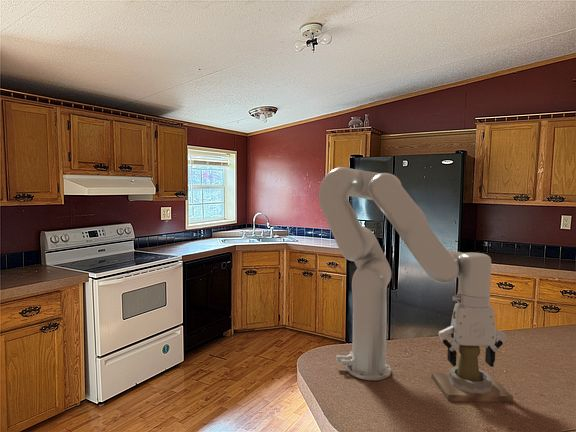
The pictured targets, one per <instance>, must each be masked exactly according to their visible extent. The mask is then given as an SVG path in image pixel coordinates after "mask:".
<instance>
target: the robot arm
mask: <svg viewBox="0 0 576 432" xmlns="http://www.w3.org/2000/svg"><path fill="white" fill-rule="evenodd" d="M350 197H352V198H358V199H359V198H360V199H363V200H364V199H365V200H370V201H373V202H374V204H375V205H376V206H377V207H378V208H379V210H380V211H381V213H383V215H384V216H385V218H387V220H388V221H389V223H390V224H391V226H393V228H394V229H395V231H396V232H397V234H398V235H399V237H400V238H401V240H402V241H403V242H404V244H405V245H406V247H407V249H408V250H409V252H410V253H411V254H412V255H413V257H414V259H415V260H416V261H417V263H418V264H419V265H420V267H421V268H422V269H423V270H424V272H425V273H426V274H427V276H428V277H429V278H431V279H432V280H433V281H434V282H436V283H438V284H442V285H443V284H450V283H452V282H454V281H455V280H456V279H457V278H458V283H457V284H458V286H457V293H456V295H452V301H453V302H456V303H455V304H454V307H453V312H452V315H451V322H450V326H447V327H446V328H444V329H442V330H441V329H440V330H439V331H438V332H437V334H438V337H439V338H440V341H441V342H442V344H444V345H445V346H446V348H447V357H446V359H447V361H448V362H449V363H450V364H451V366H452V367H455V366H457V354H458V353H457V351H456V349H457V348H459V345H461V346H479V347H485V354H484V355H485V357H484V358H485V359H484V360H485V361H484V362H485V363H486V364H487V365H488V366H489V367H492V368H494V366H495V362H496V353H497V352H498V350H499V348H501V347H502V346H503V343H504V341H505V340H506V339H507V336H508V335H507V334H506V333H505V332H503V331H501V330H500V329H497V328H496V318H495V312H494V307H493V306H491V305H490V303H491V302H490V300H491V279H492V258H491V256H489V255H488V254H485V253H483V252H482V253H480V252H472V251H471V252H470V251H469V252H461V251H456V250H450V249H446V246H444V244H443V243H442V242H441V241H440V239H439V238H438V237H437V236H436V234H435V232H434V231H433V228H431V226H430V224H429V221H428V219H427V216H426V215H425V213H424V211H423V210H422V209H421V208H420V207H419V205H418V204H417V203H416V202H415V200H413V198H412V197H411V196H410V195H409V193H408V192H407V190H406V189H405V187H403V185H402V182H401V180H400V179H399V178H398V177H397V176H396V175H394V174H392V173H389V172H373V171H366V170H361V169H354V168H350V167H346V166H344V167H343V166H338V167H336V168H334V169H331V170H330V171H329V172H328V173H327V174H326V175H324V178H323V179H322V181H321V183H320V185H319V189H318V202H319V206H320V208H321V209H320V210H321V211H322V213H323V216H324V218H325V221H326V222H327V224H328V226H329V230H330V231H331V234H332V236H333V238H334V240H335V242H336V245H337V247H338V249H339V251H340V254H341V255H342V256H343V258H344V259H346V260H348V261H350V262H354V264H355V266H356V270H355V271H354V272H353V275H352V278H351V279H352V281H351V291H352V292H351V293H352V342H351V343H352V347H351V348H352V350H350V351H349V354H348V353H347V354H346V355H342V354H337V355H336V356H335V359H336V363H340V365H341V366H346V370H347V372H348V373H349V374H350V375H351V376H353V377H355V378H356V379H361V380H365V381H381V380H386V379H387V378H389V377H390V376H391V374H392V368H391V366H390V365H389V364H388V363H386V361H387V359H386V358H387V325H388V323H387V322H388V321H387V315H388V313H387V312H388V310H387V309H388V308H387V307H388V306H387V304H388V300H387V297H388V296H387V289H388V285H389V283H390V282H391V279H392V269H391V266H390V263H389V261H388V259H387V258H386V254H385V253H384V251H383V249H382V247H381V245H380V243H379V241H378V239H377V237H376V236H375V234H374V232H373V231H372V230H371V229H369V228H368V227H366V226H362V224H361V223H360V221H359V218H358V216H357V214H356V212H355V210H354V208H353V207H352V204H351V203H350V199H349V198H350ZM449 335H450V339H447V336H449Z"/></svg>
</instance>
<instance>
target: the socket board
mask: <svg viewBox="0 0 576 432" xmlns="http://www.w3.org/2000/svg"><path fill="white" fill-rule="evenodd" d="M457 370H458V365H456V366H452V367H450V369H449V371H448V372H437V371H436V372H431V379H432V380H433V382H434V383H435V385H436V386H437V387H438V389H439V390H440V392H441V393H442V395H443V396H444V397H445V398H446V400H447V401H448V402H450V401H451V402H492V403H493V402H495V403H496V402H497V403H500V402H501V403H513V401H514V396H513V395H512V393H511V392H509V390H507V388H505V387H504V386H503V385H502V384H501V383H500V382H499V381H498V380H497V379H496V378H495V377H494V376H492V374H491V373H489V372H487V371H485V370H483V369H481V368H479V376H480V382H474V381H469V380H465V379H462V378H460V377H458V376H457Z"/></svg>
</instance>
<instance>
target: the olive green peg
mask: <svg viewBox="0 0 576 432" xmlns="http://www.w3.org/2000/svg"><path fill="white" fill-rule="evenodd" d="M457 348H458V352H459V354H460V355H459V361H458V365H457V366H458V370H457V376H458V377H460V378H462V379H465V380H469V381H474V382H480V376H479V369H480V368H479V359H478V357H479V356H480V354H481V346H461V345H459V346H458V347H457Z"/></svg>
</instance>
